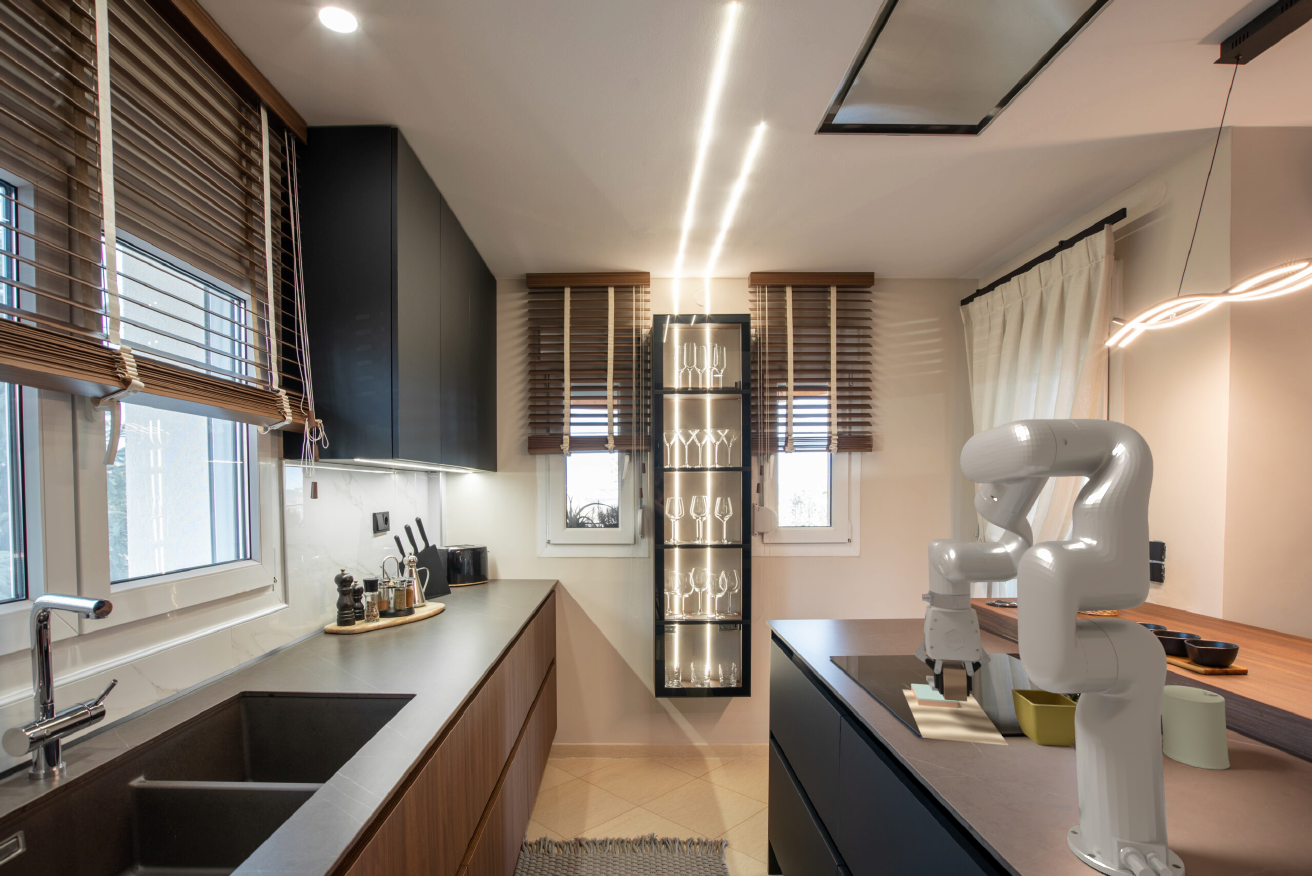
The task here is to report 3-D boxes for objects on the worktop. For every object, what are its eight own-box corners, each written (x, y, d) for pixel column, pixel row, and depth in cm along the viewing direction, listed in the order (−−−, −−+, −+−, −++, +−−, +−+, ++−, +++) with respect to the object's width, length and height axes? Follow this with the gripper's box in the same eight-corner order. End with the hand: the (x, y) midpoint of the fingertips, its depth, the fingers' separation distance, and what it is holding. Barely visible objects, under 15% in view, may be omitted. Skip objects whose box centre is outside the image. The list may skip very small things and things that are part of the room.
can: (1243, 772, 106) (1238, 701, 107) (1182, 767, 108) (1178, 697, 109) (1207, 749, 115) (1203, 683, 116) (1151, 745, 117) (1147, 681, 118)
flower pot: (1059, 736, 122) (1056, 689, 122) (1085, 756, 113) (1082, 706, 113) (1012, 734, 122) (1010, 688, 123) (1034, 754, 114) (1032, 704, 114)
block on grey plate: (975, 702, 120) (974, 670, 120) (936, 699, 122) (935, 668, 122) (961, 681, 132) (960, 653, 132) (926, 679, 133) (925, 651, 134)
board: (1009, 751, 115) (1008, 745, 115) (922, 743, 118) (922, 737, 119) (971, 699, 142) (971, 694, 142) (902, 694, 146) (902, 689, 146)
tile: (957, 701, 134) (947, 686, 143) (918, 698, 136) (911, 683, 145) (957, 708, 133) (948, 692, 143) (918, 705, 135) (911, 690, 145)
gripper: (908, 602, 123) (911, 696, 122) (1001, 606, 119) (1005, 703, 118) (903, 595, 130) (906, 683, 129) (990, 599, 126) (993, 690, 125)
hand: (953, 692), depth 123 cm, fingers closed on block on grey plate, 4 cm apart
